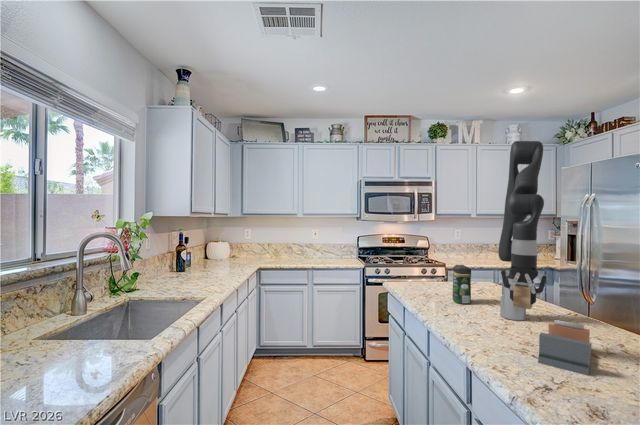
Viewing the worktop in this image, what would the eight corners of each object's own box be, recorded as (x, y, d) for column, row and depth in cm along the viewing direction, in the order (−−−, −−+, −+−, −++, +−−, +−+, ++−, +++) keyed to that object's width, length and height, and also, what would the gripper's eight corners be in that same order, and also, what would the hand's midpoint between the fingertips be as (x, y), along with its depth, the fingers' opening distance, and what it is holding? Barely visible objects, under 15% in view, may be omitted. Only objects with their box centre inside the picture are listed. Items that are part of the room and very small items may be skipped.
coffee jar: (450, 299, 177) (451, 263, 177) (466, 300, 176) (467, 263, 176) (455, 304, 167) (456, 266, 167) (472, 305, 166) (473, 267, 166)
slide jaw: (548, 338, 118) (548, 319, 118) (549, 336, 120) (549, 317, 120) (588, 347, 111) (589, 327, 111) (589, 344, 113) (589, 324, 113)
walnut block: (513, 306, 117) (513, 285, 117) (515, 303, 120) (516, 283, 120) (530, 309, 114) (530, 288, 114) (532, 306, 117) (532, 286, 117)
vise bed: (538, 362, 104) (538, 336, 104) (548, 340, 122) (548, 317, 122) (588, 375, 96) (588, 347, 96) (591, 349, 114) (591, 325, 114)
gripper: (498, 251, 118) (497, 300, 119) (547, 256, 109) (546, 309, 109) (503, 249, 124) (502, 296, 124) (550, 253, 115) (549, 304, 115)
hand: (522, 302), depth 117 cm, fingers closed on walnut block, 5 cm apart
